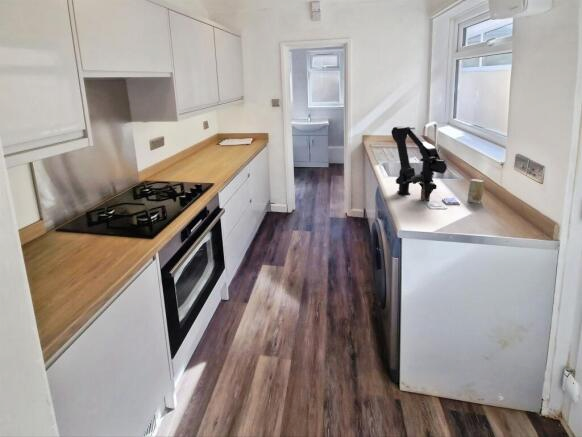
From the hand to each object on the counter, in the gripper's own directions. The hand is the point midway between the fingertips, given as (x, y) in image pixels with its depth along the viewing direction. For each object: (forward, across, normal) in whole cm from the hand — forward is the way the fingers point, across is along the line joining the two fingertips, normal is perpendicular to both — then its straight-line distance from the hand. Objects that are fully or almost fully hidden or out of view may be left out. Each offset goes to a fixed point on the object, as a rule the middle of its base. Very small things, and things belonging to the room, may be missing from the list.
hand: (425, 197), depth 232 cm
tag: (+2, +10, +3) cm, 11 cm away
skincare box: (+2, +3, +26) cm, 26 cm away
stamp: (+2, 0, 0) cm, 2 cm away
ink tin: (+2, +4, +13) cm, 14 cm away
